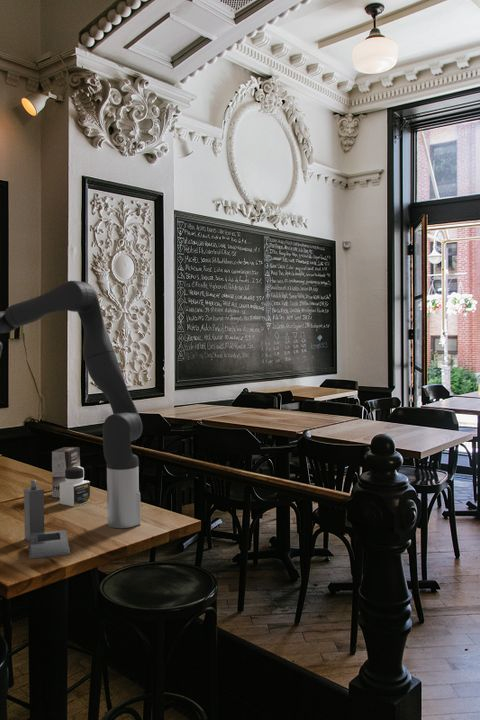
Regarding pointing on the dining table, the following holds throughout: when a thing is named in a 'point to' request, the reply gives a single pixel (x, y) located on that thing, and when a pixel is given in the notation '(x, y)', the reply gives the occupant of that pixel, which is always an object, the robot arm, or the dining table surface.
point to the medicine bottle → (74, 487)
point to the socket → (48, 544)
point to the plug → (33, 510)
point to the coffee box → (63, 466)
